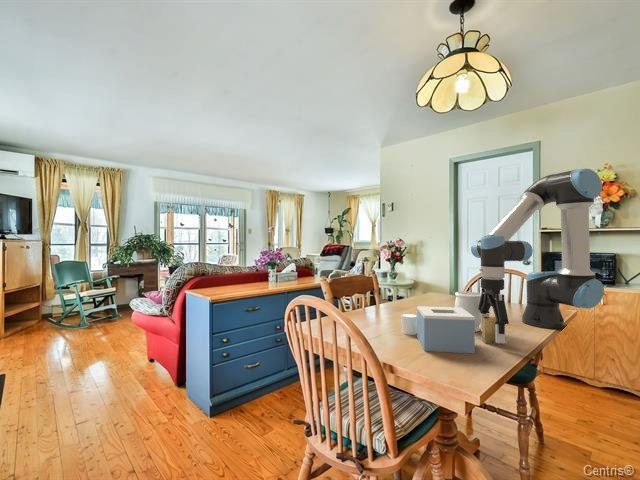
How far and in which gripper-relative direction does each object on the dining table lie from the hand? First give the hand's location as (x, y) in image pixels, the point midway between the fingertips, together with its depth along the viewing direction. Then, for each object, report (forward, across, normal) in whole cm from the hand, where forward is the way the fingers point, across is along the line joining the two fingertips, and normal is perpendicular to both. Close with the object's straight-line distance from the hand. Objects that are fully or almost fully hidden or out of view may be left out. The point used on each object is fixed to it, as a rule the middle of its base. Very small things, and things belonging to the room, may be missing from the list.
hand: (492, 336), depth 113 cm
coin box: (+2, +5, -18) cm, 19 cm away
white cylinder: (+2, -8, -28) cm, 29 cm away
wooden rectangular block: (+2, 0, 0) cm, 2 cm away
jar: (+2, -16, -3) cm, 16 cm away
